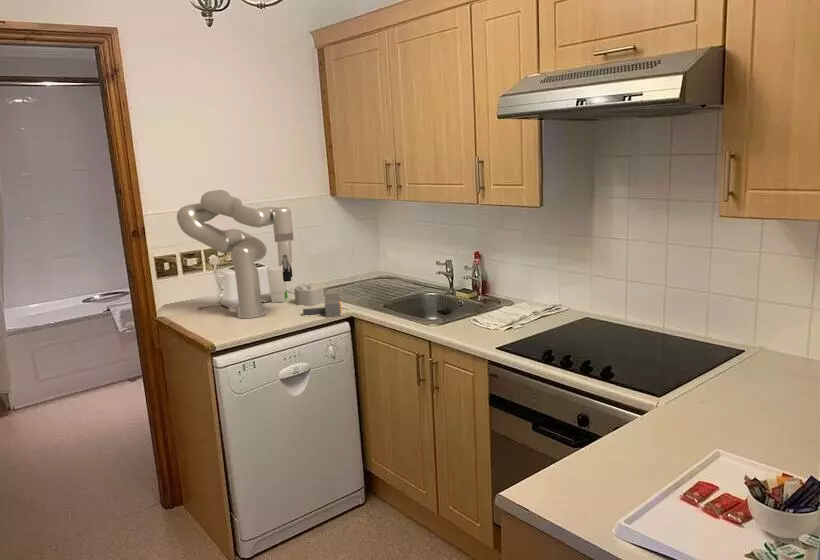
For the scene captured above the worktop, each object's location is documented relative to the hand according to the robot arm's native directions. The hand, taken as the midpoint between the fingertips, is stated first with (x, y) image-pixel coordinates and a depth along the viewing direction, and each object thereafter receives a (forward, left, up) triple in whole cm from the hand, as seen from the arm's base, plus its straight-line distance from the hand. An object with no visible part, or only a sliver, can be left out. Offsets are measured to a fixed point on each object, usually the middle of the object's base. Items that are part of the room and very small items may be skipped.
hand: (288, 279), depth 270 cm
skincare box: (-7, +32, -16) cm, 37 cm away
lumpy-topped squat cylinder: (+7, +22, -16) cm, 28 cm away
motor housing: (+18, 0, -16) cm, 24 cm away
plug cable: (+13, 0, -16) cm, 21 cm away
